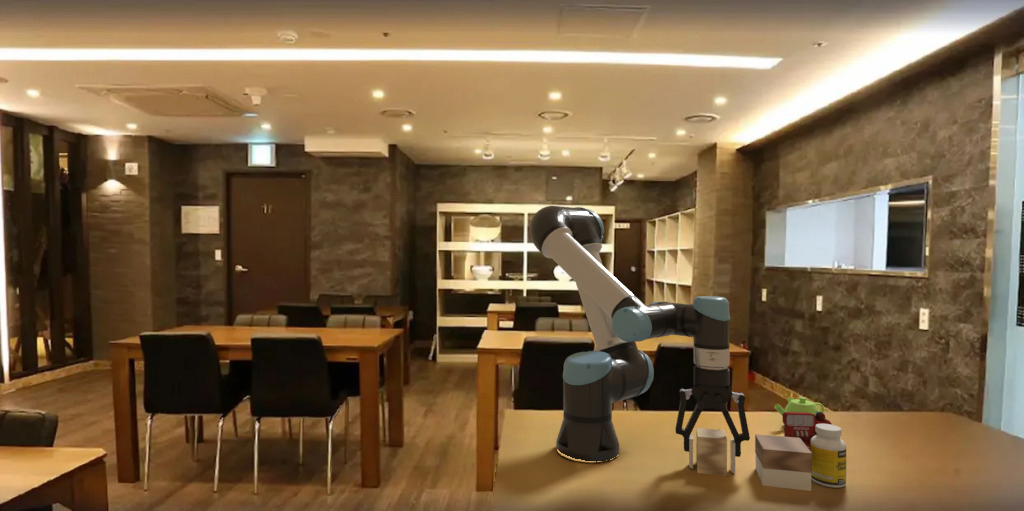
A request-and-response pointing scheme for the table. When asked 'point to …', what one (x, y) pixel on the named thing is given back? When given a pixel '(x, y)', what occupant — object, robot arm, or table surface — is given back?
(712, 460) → the oak block
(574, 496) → the table surface
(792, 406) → the teapot
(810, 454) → the walnut block upper
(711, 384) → the robot arm
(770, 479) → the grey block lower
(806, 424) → the toy fire truck
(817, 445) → the pill bottle
